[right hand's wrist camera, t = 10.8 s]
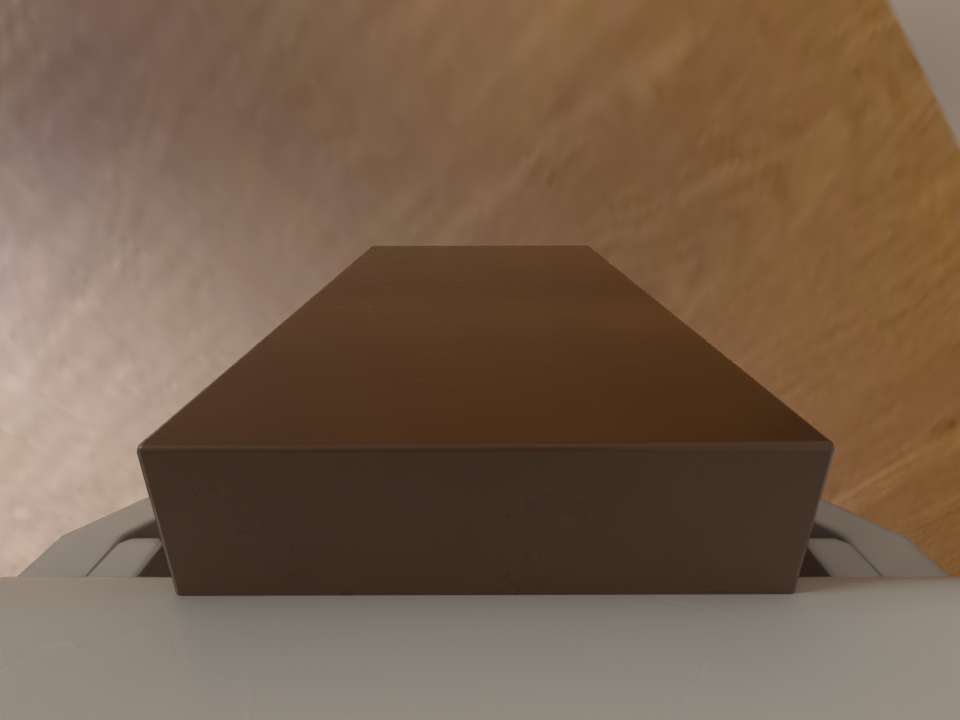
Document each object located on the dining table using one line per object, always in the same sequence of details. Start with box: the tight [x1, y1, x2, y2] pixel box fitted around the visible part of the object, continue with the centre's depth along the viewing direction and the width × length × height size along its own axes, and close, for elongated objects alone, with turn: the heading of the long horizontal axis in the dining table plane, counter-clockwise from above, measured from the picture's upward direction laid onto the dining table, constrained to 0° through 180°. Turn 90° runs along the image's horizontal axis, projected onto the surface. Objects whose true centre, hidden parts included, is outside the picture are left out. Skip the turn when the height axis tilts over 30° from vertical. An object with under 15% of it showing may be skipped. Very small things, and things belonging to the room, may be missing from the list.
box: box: [137, 246, 834, 596], centre depth 13 cm, size 21×6×10 cm, turn 0°
